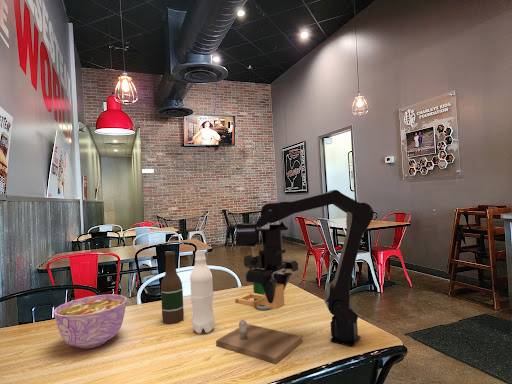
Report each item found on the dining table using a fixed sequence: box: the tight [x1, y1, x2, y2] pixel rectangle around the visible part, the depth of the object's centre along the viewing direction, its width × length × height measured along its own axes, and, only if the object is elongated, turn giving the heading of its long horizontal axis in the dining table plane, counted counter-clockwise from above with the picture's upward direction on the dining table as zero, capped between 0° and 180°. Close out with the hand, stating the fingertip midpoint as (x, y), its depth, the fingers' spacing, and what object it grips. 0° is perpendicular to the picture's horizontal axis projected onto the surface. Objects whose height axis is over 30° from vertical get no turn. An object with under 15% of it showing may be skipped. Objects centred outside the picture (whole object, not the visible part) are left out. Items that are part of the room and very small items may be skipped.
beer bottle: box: [160, 250, 185, 325], centre depth 113 cm, size 8×8×24 cm
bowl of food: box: [52, 294, 128, 349], centre depth 98 cm, size 20×20×12 cm
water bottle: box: [189, 250, 216, 334], centre depth 103 cm, size 7×7×25 cm
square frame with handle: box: [234, 283, 285, 310], centre depth 95 cm, size 14×7×6 cm, turn 53°
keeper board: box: [215, 319, 303, 365], centre depth 91 cm, size 20×14×7 cm
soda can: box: [252, 282, 272, 311], centre depth 122 cm, size 8×8×12 cm
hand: (274, 300), depth 92 cm, fingers closed on square frame with handle, 4 cm apart
